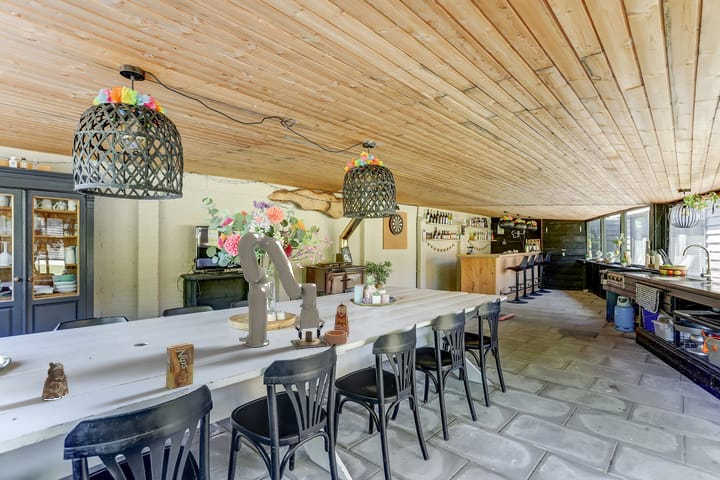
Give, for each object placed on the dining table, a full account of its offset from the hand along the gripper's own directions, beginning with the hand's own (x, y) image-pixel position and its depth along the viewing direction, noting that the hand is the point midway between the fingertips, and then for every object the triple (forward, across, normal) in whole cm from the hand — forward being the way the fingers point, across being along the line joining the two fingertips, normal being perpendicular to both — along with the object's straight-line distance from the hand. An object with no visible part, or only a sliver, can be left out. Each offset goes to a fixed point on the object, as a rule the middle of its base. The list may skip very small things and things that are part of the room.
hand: (309, 338), depth 202 cm
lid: (+2, 0, 0) cm, 3 cm away
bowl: (+3, +15, -1) cm, 15 cm away
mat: (+3, 0, 0) cm, 3 cm away
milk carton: (+4, +23, +13) cm, 26 cm away
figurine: (+2, -100, -36) cm, 107 cm away
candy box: (+3, -60, -39) cm, 72 cm away
